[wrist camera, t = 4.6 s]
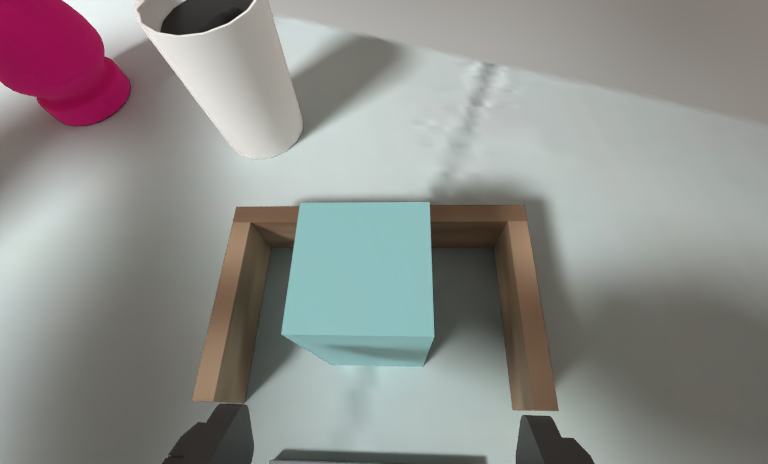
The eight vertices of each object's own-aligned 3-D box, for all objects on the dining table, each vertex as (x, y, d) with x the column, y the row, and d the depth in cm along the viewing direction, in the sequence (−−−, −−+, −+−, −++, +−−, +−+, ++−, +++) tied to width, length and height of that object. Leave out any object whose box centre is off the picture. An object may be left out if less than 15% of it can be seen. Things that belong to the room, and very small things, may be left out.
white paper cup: (316, 97, 29) (275, -43, 20) (299, 166, 26) (243, 38, 17) (235, 95, 30) (161, -42, 21) (211, 162, 27) (111, 36, 18)
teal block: (422, 366, 20) (434, 337, 12) (331, 364, 20) (281, 334, 12) (421, 278, 22) (429, 202, 14) (338, 278, 22) (300, 202, 14)
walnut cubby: (532, 410, 18) (558, 410, 15) (226, 402, 19) (191, 400, 16) (508, 232, 23) (524, 204, 20) (258, 233, 24) (236, 206, 21)
